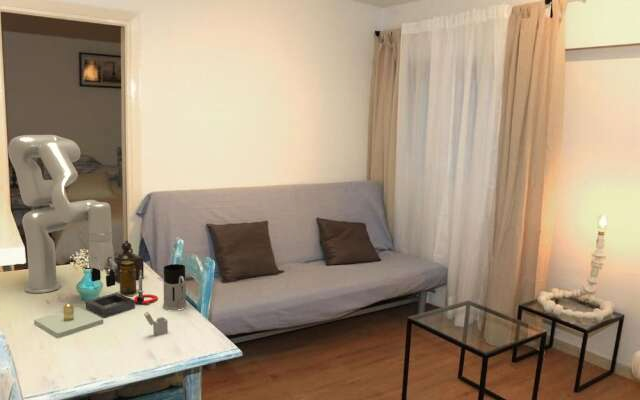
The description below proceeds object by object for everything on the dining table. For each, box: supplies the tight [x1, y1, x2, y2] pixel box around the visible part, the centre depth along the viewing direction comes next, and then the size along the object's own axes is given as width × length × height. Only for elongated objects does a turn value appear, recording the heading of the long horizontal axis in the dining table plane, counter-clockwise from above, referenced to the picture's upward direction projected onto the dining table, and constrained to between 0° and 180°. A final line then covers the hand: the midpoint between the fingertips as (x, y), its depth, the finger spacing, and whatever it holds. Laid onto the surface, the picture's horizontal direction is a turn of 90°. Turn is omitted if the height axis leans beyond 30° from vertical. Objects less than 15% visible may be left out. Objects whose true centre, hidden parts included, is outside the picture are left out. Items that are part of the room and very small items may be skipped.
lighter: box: [143, 311, 169, 336], centre depth 162 cm, size 7×2×8 cm, turn 128°
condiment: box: [114, 261, 145, 297], centre depth 198 cm, size 7×8×12 cm
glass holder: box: [162, 263, 188, 311], centre depth 183 cm, size 9×14×15 cm, turn 34°
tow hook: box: [133, 270, 159, 306], centre depth 190 cm, size 8×13×9 cm
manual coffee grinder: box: [109, 240, 145, 284], centre depth 212 cm, size 16×11×18 cm
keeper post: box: [62, 302, 74, 321], centre depth 168 cm, size 3×3×6 cm
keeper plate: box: [33, 306, 104, 339], centre depth 168 cm, size 16×15×2 cm
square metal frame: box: [84, 292, 136, 319], centre depth 182 cm, size 12×12×3 cm
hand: (103, 283), depth 183 cm, fingers open, 9 cm apart
